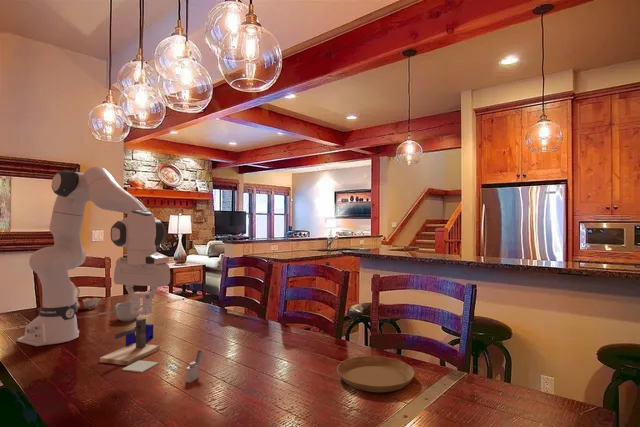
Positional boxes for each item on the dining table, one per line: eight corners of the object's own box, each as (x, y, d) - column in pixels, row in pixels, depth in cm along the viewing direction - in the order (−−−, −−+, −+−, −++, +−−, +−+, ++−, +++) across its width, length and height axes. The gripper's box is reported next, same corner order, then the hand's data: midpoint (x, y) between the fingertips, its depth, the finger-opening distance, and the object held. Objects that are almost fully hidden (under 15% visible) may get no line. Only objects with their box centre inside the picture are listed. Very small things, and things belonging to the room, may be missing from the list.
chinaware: (68, 322, 186) (72, 289, 187) (36, 318, 187) (40, 285, 187) (103, 309, 214) (106, 280, 215) (75, 305, 215) (78, 277, 215)
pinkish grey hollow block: (130, 314, 126) (130, 293, 126) (137, 311, 129) (137, 291, 129) (145, 315, 124) (145, 294, 124) (151, 312, 127) (151, 292, 127)
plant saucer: (336, 364, 130) (336, 354, 130) (405, 365, 129) (405, 355, 129) (337, 396, 106) (337, 385, 106) (422, 398, 105) (422, 386, 105)
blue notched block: (144, 337, 158) (144, 323, 158) (153, 338, 157) (153, 324, 157) (122, 346, 147) (122, 331, 147) (131, 348, 145) (132, 332, 145)
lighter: (190, 382, 114) (190, 356, 114) (185, 382, 114) (186, 356, 115) (204, 373, 121) (204, 349, 121) (200, 373, 121) (200, 348, 121)
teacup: (144, 319, 187) (144, 303, 187) (123, 324, 178) (123, 307, 178) (128, 315, 194) (128, 299, 195) (107, 319, 185) (107, 303, 185)
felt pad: (121, 370, 123) (121, 369, 123) (139, 361, 131) (139, 360, 131) (142, 372, 121) (142, 371, 121) (158, 363, 129) (158, 362, 129)
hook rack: (99, 361, 130) (100, 327, 131) (133, 346, 146) (133, 316, 146) (128, 365, 127) (128, 330, 128) (159, 349, 143) (159, 318, 143)
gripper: (109, 257, 126) (108, 298, 126) (161, 259, 121) (160, 302, 121) (123, 256, 133) (123, 295, 132) (173, 257, 127) (173, 298, 127)
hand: (141, 298), depth 127 cm, fingers closed on pinkish grey hollow block, 6 cm apart
